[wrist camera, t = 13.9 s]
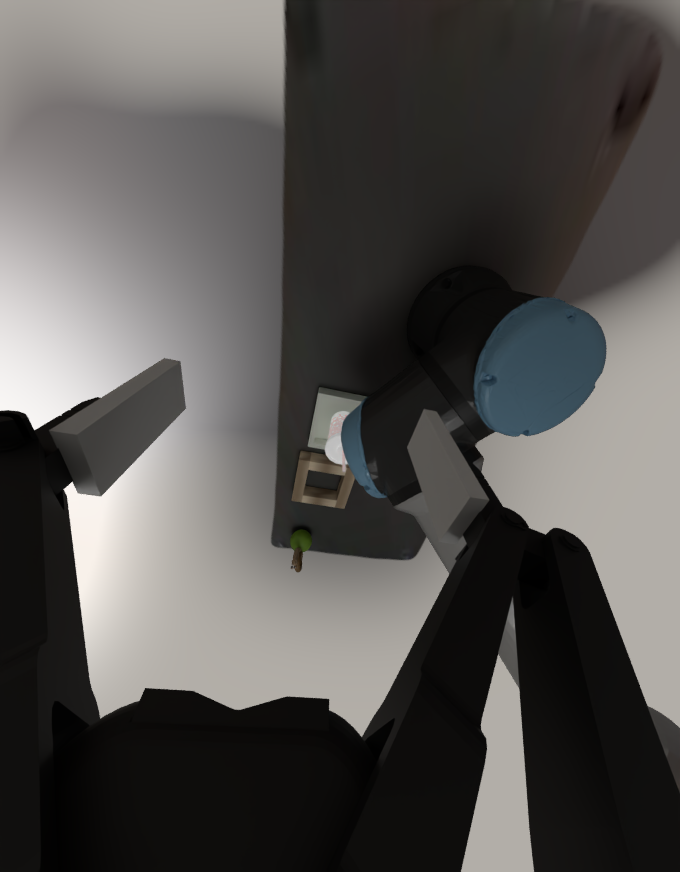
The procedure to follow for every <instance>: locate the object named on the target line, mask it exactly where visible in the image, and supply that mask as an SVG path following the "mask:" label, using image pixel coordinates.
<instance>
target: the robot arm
mask: <svg viewBox="0 0 680 872" xmlns="http://www.w3.org/2000/svg"><path fill="white" fill-rule="evenodd" d="M407 336H408V342H409V345H410V348H411V350H412V352H413V353H414V355H415V356H416V358H417V359H418V360H416V361H415V362H414V363H412V364H411V365H410V366H409V367H407V368H406V369H405V370H403V371H402V372H401V373H400V374H398V375H397V376H396V377H394V378H393V379H392V380H391V381H389V382H388V383H387V384H385V385H384V386H383V387H381V388H380V389H379V390H377V391H376V392H375V393H373V394H372V395H371V396H368V397H366V398H365V399H364V400H363V401H362V402H361V404H360V405H359V406H358V407H357V408H355V409H354V410H353V411H352V412H351V413H349V414H348V415H347V416H346V418H345V419H344V421H343V424H342V431H341V443H342V448H343V452H344V455H345V458H346V461H347V463H348V465H349V468H350V470H351V472H352V473H353V475H354V477H355V478H356V480H357V481H358V483H359V484H360V485H362V486H364V488H365V491H366V492H367V493H369V494H370V495H371V496H373V497H376V498H385V497H388V498H389V500H390V501H391V503H392V505H393V507H394V508H395V509H397V510H400V511H403V512H407V513H410V514H412V515H413V516H415V518H416V520H417V521H418V523H419V525H420V526H421V528H422V530H423V531H424V533H425V534H426V536H427V538H428V539H429V541H430V543H431V544H432V546H433V548H434V549H435V551H436V552H437V554H438V556H439V557H440V559H441V561H442V562H443V564H444V565H445V567H446V569H447V571H448V572H449V576H448V578H447V580H446V582H445V584H444V586H443V588H442V590H441V592H440V594H439V596H438V598H437V600H436V601H435V603H434V605H433V607H432V609H431V611H430V613H429V615H428V617H427V619H426V621H425V623H424V625H423V627H422V629H421V630H420V632H419V634H418V636H417V638H416V640H415V642H414V644H413V646H412V648H411V650H410V652H409V654H408V656H407V658H406V660H405V661H404V663H403V666H402V667H401V669H400V671H399V673H398V675H397V677H396V679H395V681H394V683H393V685H392V687H391V689H390V691H389V692H388V694H387V696H386V698H385V700H384V702H383V703H382V705H381V707H380V708H379V709H378V711H377V712H376V714H375V715H374V717H373V719H372V720H371V722H370V724H369V726H368V727H367V729H366V731H365V733H364V735H363V736H362V737H361V736H360V735H359V733H358V732H357V731H356V730H355V729H354V728H353V727H352V726H351V725H350V724H349V723H348V722H347V721H346V720H345V719H343V718H342V717H340V716H339V715H337V714H336V713H333V712H332V711H329V699H320V698H304V697H283V698H280V699H277V700H273V701H270V702H266V703H263V704H259V705H256V706H252V707H249V708H245V709H242V710H234V709H232V708H229V707H227V706H225V705H223V704H220V703H218V702H216V701H214V700H212V699H210V698H207V697H205V696H203V695H201V694H199V693H196V692H194V691H185V690H168V689H149V688H145V690H144V692H143V695H142V697H141V699H140V701H138V702H134V703H132V704H129V705H127V706H124V707H121V708H119V709H117V710H115V711H113V712H112V713H110V714H108V715H106V716H104V717H102V718H101V719H100V715H99V710H98V706H97V702H96V699H95V696H94V694H93V691H92V688H91V684H90V679H89V672H88V665H87V656H86V648H85V640H84V632H83V624H82V616H81V608H80V600H79V591H78V583H77V575H76V567H75V559H74V551H73V543H72V535H71V526H70V519H69V510H68V502H67V496H66V494H65V492H64V490H63V489H64V488H66V487H67V486H68V485H69V484H70V483H71V482H72V481H73V484H74V486H75V488H76V490H77V492H78V493H80V494H87V495H95V496H102V495H103V494H104V493H105V492H106V491H107V490H108V489H109V488H110V487H111V485H112V484H113V483H114V482H115V481H116V480H117V479H118V478H119V477H120V476H121V475H122V474H123V473H124V472H125V471H126V470H127V469H128V468H129V467H130V466H131V465H132V464H133V463H134V462H135V461H136V459H137V458H138V457H139V456H140V455H141V454H142V453H143V452H144V451H145V450H146V449H147V448H148V447H149V446H150V445H151V444H152V443H153V442H154V441H155V440H156V439H157V438H158V436H160V435H161V434H162V432H163V431H164V430H165V429H166V428H167V427H168V426H169V425H170V424H171V423H172V422H173V421H174V420H175V419H176V418H177V417H178V416H179V415H180V414H181V413H182V412H183V411H184V410H185V409H186V406H185V397H184V389H183V380H182V372H181V365H180V364H181V363H180V361H176V360H171V359H165V358H164V359H163V360H161V361H159V362H158V363H156V364H154V365H153V366H151V367H150V368H148V369H146V370H145V371H143V372H142V373H140V374H139V375H137V376H135V377H134V378H132V379H131V380H129V381H128V382H126V383H124V384H123V385H121V386H120V387H118V388H116V389H115V390H113V391H111V392H110V393H108V394H107V395H105V396H103V397H102V398H99V397H97V398H94V399H91V400H87V401H84V402H81V403H80V404H78V405H76V406H75V407H73V408H72V409H71V410H68V411H66V412H65V413H63V414H62V416H58V417H56V418H55V419H53V420H51V421H50V422H48V423H46V424H45V425H43V426H41V427H40V428H38V429H36V430H34V429H33V427H32V425H31V423H30V421H29V419H28V417H27V416H26V414H24V413H21V412H18V411H9V410H7V411H0V872H461V869H462V864H463V859H464V855H465V850H466V846H467V841H468V837H469V832H470V828H471V823H472V819H473V814H474V810H475V805H476V801H477V796H478V791H479V786H480V782H481V778H482V773H483V769H484V765H485V759H486V751H487V744H486V738H485V736H484V735H483V733H482V731H481V720H482V716H483V712H484V708H485V704H486V700H487V696H488V691H489V688H490V684H491V680H492V676H493V672H494V668H495V664H496V660H497V656H498V654H499V656H500V657H501V659H502V661H503V662H504V664H505V666H506V667H507V669H508V671H509V672H510V674H511V675H512V677H513V679H514V680H515V682H516V684H517V685H518V687H519V689H520V703H521V717H522V731H523V744H524V758H525V772H526V787H527V800H528V815H529V828H530V838H531V847H532V856H533V865H534V872H680V728H679V727H678V726H677V725H676V724H675V723H673V722H672V721H671V720H670V719H668V718H667V717H666V716H664V715H663V714H661V713H660V712H658V711H656V710H654V709H653V708H651V707H648V706H647V704H646V701H645V699H644V696H643V693H642V690H641V688H640V685H639V682H638V680H637V677H636V675H635V672H634V669H633V666H632V664H631V661H630V658H629V656H628V653H627V650H626V648H625V645H624V642H623V640H622V637H621V635H620V632H619V629H618V626H617V624H616V621H615V618H614V616H613V613H612V610H611V608H610V605H609V603H608V600H607V597H606V594H605V592H604V589H603V586H602V584H601V581H600V578H599V576H598V573H597V571H596V568H595V565H594V562H593V560H592V557H591V554H590V552H589V550H588V549H587V547H586V546H585V545H584V544H583V542H582V541H581V540H580V539H579V538H578V537H576V536H575V535H573V534H571V533H569V532H567V531H566V530H563V529H560V528H553V529H552V530H550V531H549V532H548V533H547V534H546V535H545V534H543V533H540V532H538V531H535V530H532V529H530V528H529V526H528V525H527V523H526V521H525V520H524V519H523V518H522V517H521V516H520V515H518V514H517V513H516V512H514V511H512V510H510V509H508V508H505V507H503V506H502V504H501V503H500V501H499V500H498V498H497V497H496V495H495V493H494V492H493V490H492V489H491V487H490V486H489V484H488V482H487V481H486V479H484V476H483V474H482V473H481V470H482V465H483V461H484V458H483V456H482V455H481V454H480V452H479V451H478V450H477V448H476V447H475V443H477V442H478V441H480V440H482V439H483V438H485V437H487V436H488V435H490V434H492V433H494V432H499V433H502V434H504V435H508V436H515V437H516V436H519V435H520V434H524V435H526V436H531V435H535V434H539V433H541V432H544V431H546V430H549V429H551V428H553V427H555V426H556V425H558V424H560V423H561V422H563V421H564V420H565V419H567V418H568V417H570V416H571V415H572V414H573V413H574V412H575V411H576V410H577V409H579V407H580V406H581V405H582V404H583V403H584V402H585V401H586V400H587V398H588V397H589V396H590V394H591V393H592V391H593V389H594V388H595V382H596V381H597V379H598V378H599V376H600V375H601V373H602V371H603V368H604V364H605V359H606V341H605V336H604V333H603V331H602V329H601V327H600V325H599V324H598V322H597V321H596V320H595V319H594V318H593V317H592V316H591V315H590V314H589V313H587V312H585V311H583V310H581V309H579V308H576V307H574V306H571V305H569V304H566V303H565V302H564V301H562V300H560V299H556V298H549V297H547V298H545V297H540V296H536V295H531V294H526V293H522V292H517V291H512V289H511V288H510V286H509V284H508V283H507V281H506V280H505V279H504V278H503V277H502V276H500V275H499V274H498V273H496V272H494V271H492V270H490V269H487V268H483V267H476V266H462V267H457V268H454V269H451V270H448V271H446V272H444V273H442V274H440V275H439V276H437V277H436V278H435V279H433V280H432V281H431V282H430V283H429V284H428V285H427V286H426V287H425V288H424V289H423V290H422V291H421V293H420V294H419V295H418V297H417V299H416V300H415V302H414V304H413V306H412V308H411V311H410V314H409V318H408V324H407Z"/></svg>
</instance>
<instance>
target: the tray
mask: <svg viewBox="0 0 680 872" xmlns="http://www.w3.org/2000/svg"><path fill="white" fill-rule="evenodd" d="M365 398H366V396H362V395H357V394H352V393H347V392H342V391H337V390H333V389H328V388H323V387H319V391H318V396H317V401H316V406H315V411H314V416H313V421H312V426H311V431H310V436H309V442H308V447H314V448H319V449H325V446H326V442H327V440H328V436H329V430H330V424H331V419H332V417H333V416H334V414H336V413H337V412H340V411H346V412H349V413H351V412H352V411H353V410H354V409H355V408H357V407H358V406H359V405H360V404H361V402H362V401H363V400H364V399H365Z"/></svg>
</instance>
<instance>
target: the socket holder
mask: <svg viewBox="0 0 680 872" xmlns="http://www.w3.org/2000/svg"><path fill="white" fill-rule="evenodd" d="M345 465H346V472H343V471H342V465H341V464H336V463H334V462H332V461H331V460H329V458H328V457H327V456H326V455H324V454H318V453H313V452H307V451H301V452H300V457H299V462H298V468H297V473H296V479H295V484H294V490H293V495H292V501H297V502H303V503H310V504H316V505H323V506H330V507H336V508H343V509H344V508H345V505H346V502H347V499H348V497H349V494H350V491H351V488H352V485H353V482H354V479H355V477H354V475H353V473H352V472H351V470H350V468H349V465H348V464H345ZM308 470H313V471H319V472H325V473H331V474H337V475H342V476H341V479H340V483H339V486H338V489H337V491H335V490H329V489H322V488H316V487H310V486H305V483H306V478H307V473H308Z"/></svg>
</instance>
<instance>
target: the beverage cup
mask: <svg viewBox="0 0 680 872" xmlns="http://www.w3.org/2000/svg"><path fill="white" fill-rule="evenodd" d="M348 414H349V412H346V411H340V412H337V413H336V414H334V416H333V417H332V419H331V424H330V430H329V436H328V440H327V442H326V446H325V452H326V456H327V457H328V458H329V460H331V461H332V462H334V463H336V464H341V465H342V471H343V472H346V465H345V464H348V463H347V461H346V458H345V455H344V452H343V448H342V443H341V431H342V424H343V421H344V419H345V418H346V416H347V415H348Z"/></svg>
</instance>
